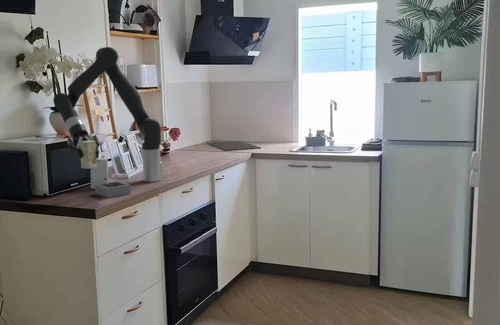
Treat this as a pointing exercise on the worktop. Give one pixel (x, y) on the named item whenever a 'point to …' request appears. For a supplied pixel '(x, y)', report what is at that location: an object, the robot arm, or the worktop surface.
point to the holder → (112, 189)
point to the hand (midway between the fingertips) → (90, 155)
